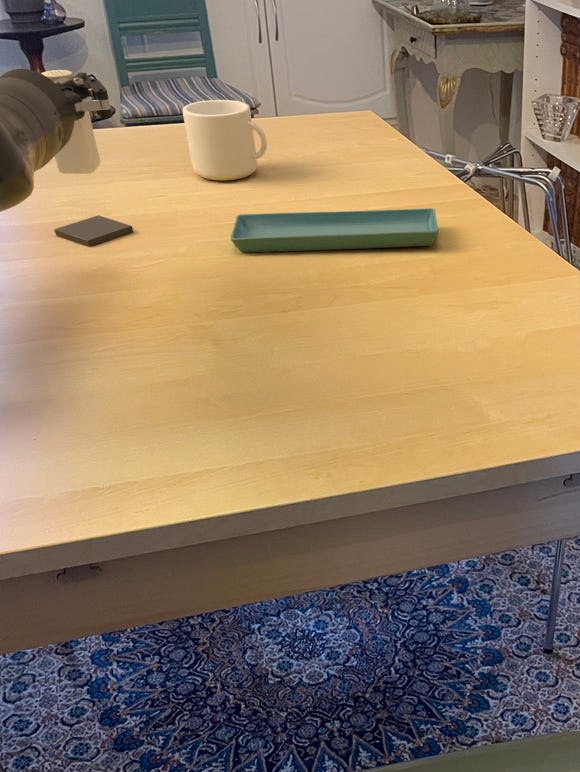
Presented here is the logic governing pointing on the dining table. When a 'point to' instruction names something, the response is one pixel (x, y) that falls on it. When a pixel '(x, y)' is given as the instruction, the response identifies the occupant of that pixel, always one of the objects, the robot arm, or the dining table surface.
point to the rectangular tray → (334, 230)
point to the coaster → (93, 230)
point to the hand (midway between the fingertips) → (67, 83)
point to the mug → (222, 139)
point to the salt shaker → (77, 141)
